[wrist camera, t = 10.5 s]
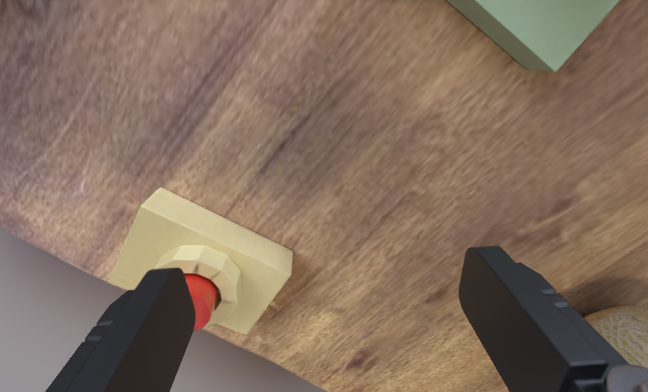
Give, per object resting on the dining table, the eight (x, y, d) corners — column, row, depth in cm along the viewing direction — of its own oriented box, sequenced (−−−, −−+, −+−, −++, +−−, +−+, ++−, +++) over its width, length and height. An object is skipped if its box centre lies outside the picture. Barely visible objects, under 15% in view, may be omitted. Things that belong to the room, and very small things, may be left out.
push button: (161, 298, 23) (149, 319, 22) (179, 265, 22) (167, 285, 20) (206, 315, 24) (198, 337, 23) (226, 285, 23) (219, 306, 21)
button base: (128, 257, 27) (92, 299, 23) (160, 186, 24) (126, 218, 20) (252, 308, 30) (242, 354, 26) (293, 250, 28) (290, 291, 23)
